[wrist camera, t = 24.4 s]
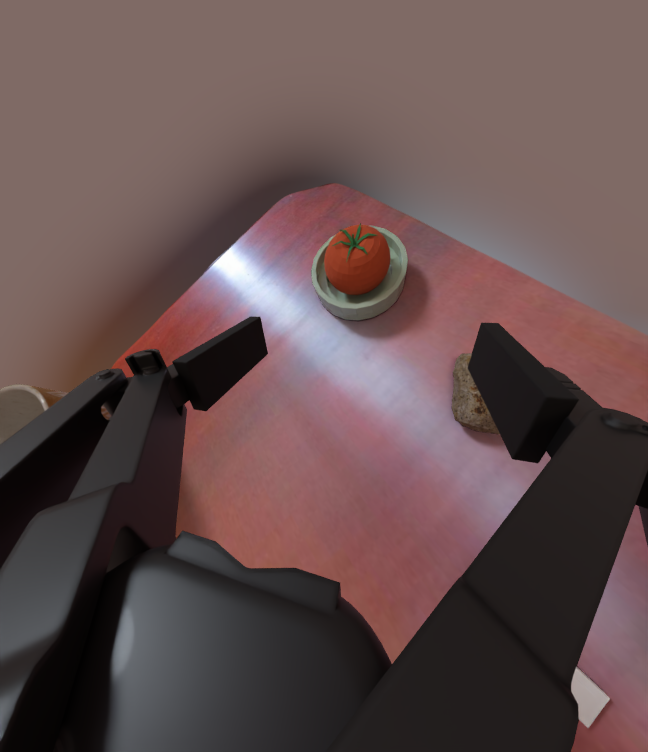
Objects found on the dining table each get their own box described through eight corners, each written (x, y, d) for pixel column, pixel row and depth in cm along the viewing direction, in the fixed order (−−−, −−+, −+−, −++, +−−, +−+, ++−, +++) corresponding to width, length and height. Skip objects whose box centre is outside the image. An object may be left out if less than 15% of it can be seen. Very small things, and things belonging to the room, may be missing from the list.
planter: (127, 384, 48) (5, 360, 32) (189, 432, 42) (76, 431, 26) (72, 469, 46) (-87, 487, 30) (128, 531, 40) (-33, 594, 24)
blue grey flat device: (532, 786, 23) (543, 812, 22) (428, 666, 27) (431, 680, 25) (650, 626, 24) (669, 640, 22) (532, 531, 28) (542, 537, 26)
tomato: (394, 299, 38) (399, 254, 29) (334, 312, 40) (320, 275, 31) (383, 249, 41) (384, 193, 31) (327, 264, 43) (312, 216, 33)
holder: (423, 276, 39) (429, 257, 34) (358, 338, 39) (355, 327, 34) (360, 232, 44) (358, 211, 39) (302, 288, 44) (293, 272, 39)
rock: (446, 428, 33) (456, 427, 28) (447, 353, 35) (457, 342, 31) (509, 435, 31) (530, 436, 26) (506, 355, 33) (525, 344, 29)
